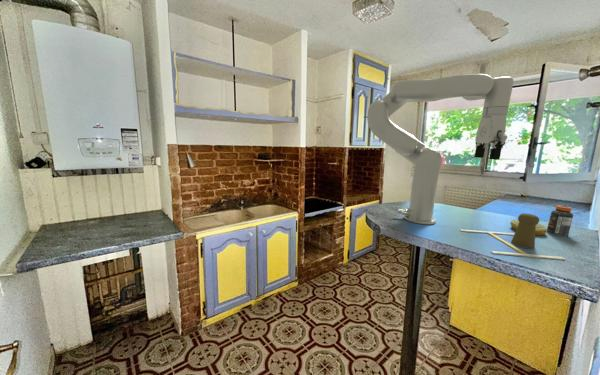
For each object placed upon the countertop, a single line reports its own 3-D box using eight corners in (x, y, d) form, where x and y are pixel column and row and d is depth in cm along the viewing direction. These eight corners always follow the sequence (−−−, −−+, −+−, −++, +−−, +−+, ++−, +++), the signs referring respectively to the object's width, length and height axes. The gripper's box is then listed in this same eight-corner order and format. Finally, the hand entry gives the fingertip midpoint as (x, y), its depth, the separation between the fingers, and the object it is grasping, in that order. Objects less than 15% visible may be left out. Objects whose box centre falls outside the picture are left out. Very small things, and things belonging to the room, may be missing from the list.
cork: (525, 241, 86) (532, 212, 84) (539, 249, 80) (547, 217, 78) (506, 240, 87) (513, 211, 85) (519, 247, 81) (526, 216, 79)
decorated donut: (526, 236, 92) (528, 226, 91) (502, 226, 103) (504, 217, 102) (553, 236, 92) (555, 227, 92) (527, 226, 103) (528, 218, 102)
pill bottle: (544, 229, 99) (551, 203, 97) (565, 233, 96) (572, 206, 94) (548, 234, 94) (555, 206, 92) (570, 238, 91) (578, 209, 89)
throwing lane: (493, 253, 76) (493, 252, 75) (459, 230, 95) (460, 229, 95) (565, 260, 73) (565, 258, 73) (515, 234, 93) (515, 233, 93)
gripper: (471, 115, 100) (464, 156, 103) (498, 110, 83) (489, 159, 87) (490, 115, 99) (483, 157, 102) (523, 110, 82) (512, 160, 86)
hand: (486, 158), depth 94 cm, fingers open, 9 cm apart
